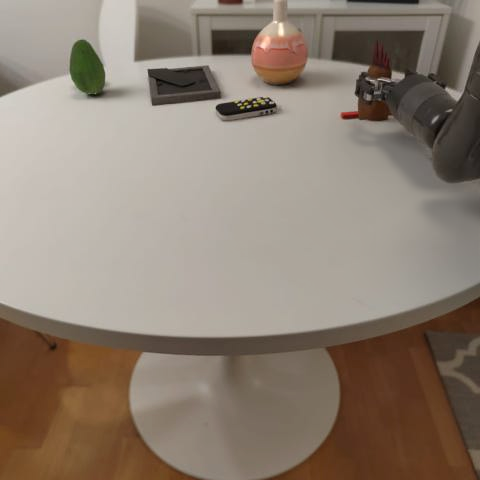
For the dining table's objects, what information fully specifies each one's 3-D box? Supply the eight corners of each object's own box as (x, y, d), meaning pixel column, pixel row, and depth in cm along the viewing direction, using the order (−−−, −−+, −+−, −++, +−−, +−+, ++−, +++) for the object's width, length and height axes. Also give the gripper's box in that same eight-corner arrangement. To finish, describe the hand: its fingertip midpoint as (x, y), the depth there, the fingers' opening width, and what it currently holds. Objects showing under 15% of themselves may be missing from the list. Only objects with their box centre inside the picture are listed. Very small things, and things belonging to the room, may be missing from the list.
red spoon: (421, 105, 99) (422, 100, 98) (432, 115, 95) (433, 110, 94) (337, 112, 97) (338, 107, 97) (345, 122, 93) (346, 117, 93)
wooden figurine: (351, 119, 94) (361, 39, 84) (377, 116, 95) (391, 36, 85) (363, 132, 89) (376, 48, 79) (391, 129, 90) (407, 46, 80)
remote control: (214, 112, 100) (213, 103, 98) (268, 103, 103) (268, 94, 101) (222, 122, 95) (222, 112, 94) (278, 113, 98) (279, 103, 97)
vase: (240, 81, 115) (237, 0, 103) (278, 69, 121) (279, -9, 110) (279, 94, 107) (281, 7, 95) (317, 80, 114) (323, -3, 102)
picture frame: (148, 77, 120) (152, 105, 104) (147, 69, 118) (150, 96, 103) (208, 71, 122) (221, 98, 106) (208, 63, 120) (220, 89, 105)
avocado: (100, 86, 115) (89, 33, 107) (114, 94, 111) (103, 39, 103) (70, 94, 112) (56, 39, 104) (83, 102, 107) (69, 46, 99)
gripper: (471, 78, 70) (426, 50, 82) (382, 86, 69) (349, 56, 81) (458, 126, 75) (416, 93, 87) (374, 134, 74) (344, 99, 86)
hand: (384, 75), depth 84 cm, fingers open, 8 cm apart
